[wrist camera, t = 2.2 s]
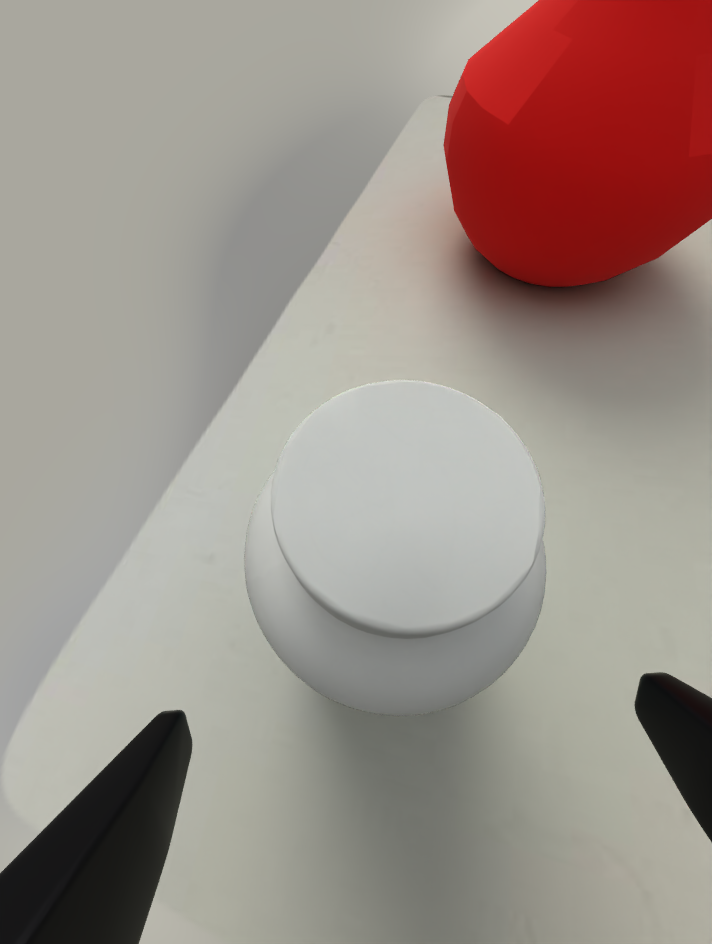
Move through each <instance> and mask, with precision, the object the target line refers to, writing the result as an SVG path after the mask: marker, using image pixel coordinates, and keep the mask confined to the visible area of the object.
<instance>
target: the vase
mask: <svg viewBox="0 0 712 944" xmlns="http://www.w3.org/2000/svg"><path fill="white" fill-rule="evenodd" d="M444 151H445V157H446V163H447V169H448V175H449V181H450V187H451V193H452V199H453V205H454V211H455V213H456V215H457V217H458V218H459V220H460V222H461V224H462V226H463V228H464V230H465V232H466V234H467V236H468V237H469V239H470V241H471V242H472V244H473V246H474V247H475V249H476V250H477V251H479V252H480V253H481V254H482V255H483V256H484V257H485V258H486V259H487V260H488V261H490V262H491V263H492V264H493V265H494V266H495V267H496V268H497V269H499V270H500V271H502V272H504V273H506V274H507V275H509V276H511V277H513V278H516V279H518V280H521V281H524V282H527V283H530V284H536V285H541V286H547V287H569V286H576V285H584V284H589V283H595V282H600V281H605V280H607V279H610V278H612V277H614V276H617V275H619V274H621V273H624V272H626V271H629V270H631V269H633V268H636V267H638V266H640V265H642V264H645V263H647V262H649V261H652V260H654V259H656V258H658V257H660V256H661V255H662V254H664V253H665V252H667V251H668V250H669V249H671V248H672V247H673V246H675V245H676V244H678V243H679V242H680V241H682V240H683V239H685V238H686V237H687V236H689V235H690V234H691V233H693V232H694V231H696V230H697V229H698V228H700V227H701V226H702V225H704V224H705V223H707V222H708V221H709V220H711V219H712V0H539V1H538V2H536V3H535V4H534V5H533V6H532V7H530V8H529V9H528V10H527V11H526V12H524V13H523V14H522V15H521V16H520V17H518V18H517V19H516V20H515V21H514V22H513V23H511V24H510V25H509V26H508V27H506V28H505V29H504V30H503V31H502V32H500V33H499V34H498V35H497V36H496V37H494V38H493V39H492V40H491V41H490V42H489V43H487V44H486V45H485V46H484V47H483V48H481V49H480V50H479V51H478V52H477V53H476V54H474V55H473V56H472V57H471V58H470V59H469V60H468V62H467V64H466V67H465V69H464V71H463V73H462V76H461V79H460V80H459V83H458V85H457V87H456V89H455V92H454V94H453V97H452V99H451V102H450V104H449V110H448V117H447V124H446V132H445V139H444Z"/></svg>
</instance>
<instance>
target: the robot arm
mask: <svg viewBox="0 0 712 944" xmlns="http://www.w3.org/2000/svg"><path fill="white" fill-rule="evenodd" d="M635 711H636V714H637V717H638V719H639V721H640V723H641V724H642V726H643V728H644V730H645V731H646V733H647V735H648V737H649V738H650V740H651V742H652V744H653V745H654V747H655V749H656V751H657V753H658V754H659V756H660V758H661V760H662V761H663V763H664V765H665V767H666V768H667V770H668V772H669V774H670V775H671V777H672V779H673V781H674V783H675V784H676V786H677V788H678V790H679V791H680V793H681V795H682V796H683V798H684V800H685V801H686V803H687V805H688V806H689V808H690V810H691V811H692V813H693V814H694V816H695V818H696V819H697V821H698V822H699V824H700V825H701V827H702V828H703V830H704V831H705V833H706V834H707V836H708V837H709V839H710V840H711V842H712V698H710V697H708V696H707V695H705V694H703V693H701V692H700V691H698V690H696V689H694V688H693V687H691V686H689V685H687V684H685V683H684V682H682V681H680V680H678V679H677V678H675V677H673V676H671V675H669V674H667V673H662V672H659V673H646V674H644V675H642V676H641V678H640V682H639V686H638V691H637V695H636V700H635ZM191 753H192V738H191V734H190V730H189V726H188V723H187V719H186V715H185V713H184V712H183V711H182V710H173V711H164V712H161V713H160V714H158V715H157V716H156V717H155V718H154V719H153V720H152V721H151V722H150V723H149V724H148V725H147V726H146V727H145V728H144V729H143V730H142V731H141V732H140V733H139V734H138V735H137V736H136V737H135V738H134V739H133V740H132V741H131V742H130V743H129V744H128V745H127V746H126V747H125V748H124V749H123V750H122V751H121V752H120V753H119V754H118V755H117V756H116V757H115V758H114V759H113V760H112V761H111V762H110V763H109V764H108V765H107V766H106V767H105V768H104V769H103V770H102V771H101V772H100V773H99V774H98V775H97V776H96V777H95V778H94V779H93V780H92V781H91V782H90V783H89V784H88V785H87V786H86V787H85V788H84V789H83V790H82V791H81V792H80V793H79V794H78V795H77V796H76V797H75V798H74V799H73V801H72V802H71V803H70V804H69V805H68V806H67V807H66V808H65V809H64V810H63V811H62V812H61V813H60V814H59V815H58V816H57V817H56V818H55V819H54V820H53V821H52V822H51V823H50V824H49V825H48V826H47V827H46V828H45V829H44V830H43V831H42V832H41V833H40V834H39V835H38V836H37V837H36V838H35V839H34V840H33V841H32V842H31V843H30V844H29V845H28V846H27V847H26V848H25V849H24V850H23V851H22V852H21V853H20V854H19V855H18V856H17V857H16V858H15V859H14V860H13V861H12V862H11V863H10V864H9V865H8V866H7V867H6V868H5V869H4V870H3V871H2V872H1V873H0V944H139V941H140V938H141V935H142V932H143V929H144V925H145V922H146V919H147V916H148V913H149V910H150V907H151V904H152V901H153V898H154V895H155V892H156V889H157V886H158V883H159V879H160V876H161V873H162V870H163V867H164V863H165V860H166V857H167V853H168V850H169V846H170V842H171V838H172V834H173V829H174V825H175V821H176V817H177V813H178V808H179V804H180V800H181V796H182V791H183V787H184V783H185V779H186V775H187V770H188V766H189V762H190V758H191Z"/></svg>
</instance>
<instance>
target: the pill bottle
mask: <svg viewBox="0 0 712 944" xmlns="http://www.w3.org/2000/svg"><path fill="white" fill-rule="evenodd" d="M544 527H545V499H544V493H543V488H542V484H541V479H540V476H539V473H538V470H537V468H536V465H535V462H534V460H533V459H532V457H531V455H530V453H529V451H528V449H527V447H526V446H525V444H524V443H523V442H522V440H521V439H520V438H519V436H518V435H517V434H516V432H515V431H514V430H513V429H512V428H511V427H510V426H509V425H508V424H507V422H506V421H505V420H504V419H503V418H501V417H500V416H499V415H498V414H497V413H495V412H494V411H492V410H491V409H490V408H488V407H487V406H486V405H484V404H483V403H481V402H480V401H478V400H476V399H474V398H472V397H470V396H468V395H466V394H464V393H462V392H460V391H457V390H455V389H452V388H449V387H445V386H442V385H439V384H434V383H429V382H424V381H414V380H388V381H381V382H375V383H370V384H365V385H362V386H359V387H355V388H352V389H350V390H347V391H345V392H343V393H341V394H339V395H337V396H335V397H333V398H331V399H329V400H328V401H326V402H325V403H323V404H322V405H321V406H319V407H318V408H317V409H315V410H314V411H313V412H311V413H310V414H309V415H308V416H307V417H306V418H305V419H304V420H303V421H302V422H301V424H300V425H299V426H298V427H297V428H296V429H295V430H294V431H293V433H292V435H291V436H290V438H289V439H288V441H287V442H286V444H285V446H284V448H283V450H282V452H281V455H280V457H279V459H278V461H277V465H276V468H275V470H274V472H273V473H272V475H271V476H270V477H269V479H268V480H267V482H266V483H265V485H264V487H263V489H262V490H261V492H260V494H259V496H258V498H257V500H256V503H255V505H254V508H253V511H252V514H251V517H250V521H249V524H248V530H247V535H246V543H245V556H244V557H245V577H246V586H247V591H248V595H249V599H250V603H251V606H252V609H253V612H254V614H255V617H256V619H257V622H258V624H259V626H260V628H261V630H262V632H263V634H264V636H265V637H266V639H267V641H268V642H269V644H270V645H271V647H272V648H273V650H274V651H275V652H276V654H277V655H278V656H279V658H280V659H281V660H282V661H283V663H284V664H285V665H286V666H287V667H288V668H289V669H290V670H291V671H292V672H293V673H294V674H295V675H296V676H297V677H298V678H300V679H301V680H302V681H303V682H305V683H306V684H307V685H309V686H310V687H311V688H312V689H314V690H315V691H317V692H319V693H320V694H322V695H324V696H325V697H327V698H329V699H331V700H333V701H336V702H338V703H340V704H343V705H345V706H348V707H350V708H353V709H357V710H361V711H365V712H369V713H374V714H381V715H392V716H409V715H421V714H426V713H431V712H435V711H439V710H443V709H446V708H450V707H452V706H454V705H457V704H459V703H462V702H464V701H466V700H468V699H469V698H471V697H473V696H475V695H476V694H478V693H479V692H481V691H482V690H484V689H485V688H487V687H488V686H490V685H491V684H492V683H494V682H495V681H496V680H497V679H498V678H499V677H500V676H502V675H503V673H504V672H505V671H506V670H507V669H508V668H509V667H510V666H511V665H512V664H513V662H514V661H515V660H516V659H517V657H518V656H519V655H520V653H521V652H522V650H523V648H524V647H525V645H526V643H527V642H528V640H529V638H530V636H531V634H532V632H533V630H534V628H535V626H536V623H537V620H538V617H539V614H540V611H541V607H542V603H543V598H544V593H545V581H546V556H545V549H544V543H543V534H544Z"/></svg>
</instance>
